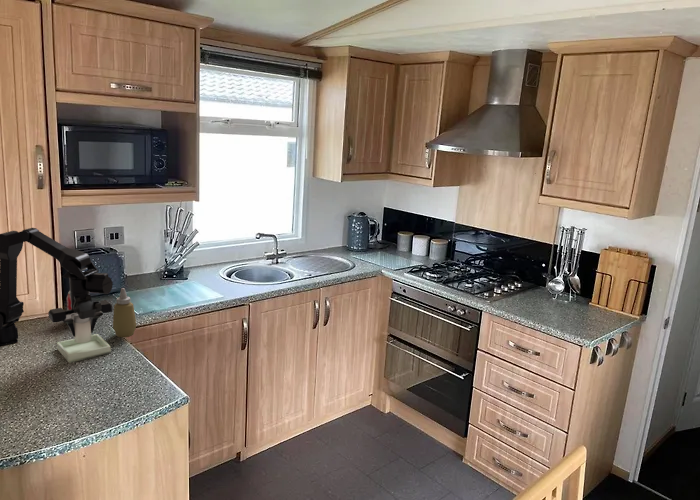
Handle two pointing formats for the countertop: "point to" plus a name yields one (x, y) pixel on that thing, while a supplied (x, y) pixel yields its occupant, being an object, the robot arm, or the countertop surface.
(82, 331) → the ceramic shaker
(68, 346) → the sage tray
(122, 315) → the squeeze bottle
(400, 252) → the countertop surface
